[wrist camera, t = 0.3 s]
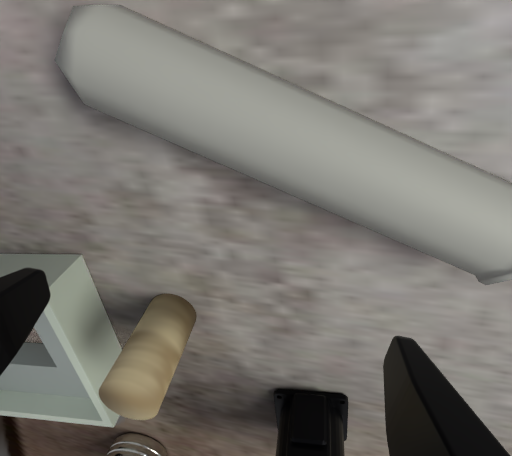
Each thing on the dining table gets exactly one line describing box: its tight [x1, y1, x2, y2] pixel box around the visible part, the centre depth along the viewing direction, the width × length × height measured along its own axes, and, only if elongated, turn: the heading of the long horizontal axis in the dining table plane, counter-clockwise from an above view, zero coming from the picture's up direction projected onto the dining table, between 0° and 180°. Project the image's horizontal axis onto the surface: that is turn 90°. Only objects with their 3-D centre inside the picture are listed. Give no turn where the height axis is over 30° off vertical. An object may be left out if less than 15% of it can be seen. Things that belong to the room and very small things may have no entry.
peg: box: [99, 294, 196, 420], centre depth 26 cm, size 4×4×8 cm
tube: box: [55, 5, 512, 285], centre depth 18 cm, size 5×5×25 cm
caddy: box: [0, 254, 122, 427], centre depth 31 cm, size 16×16×4 cm
